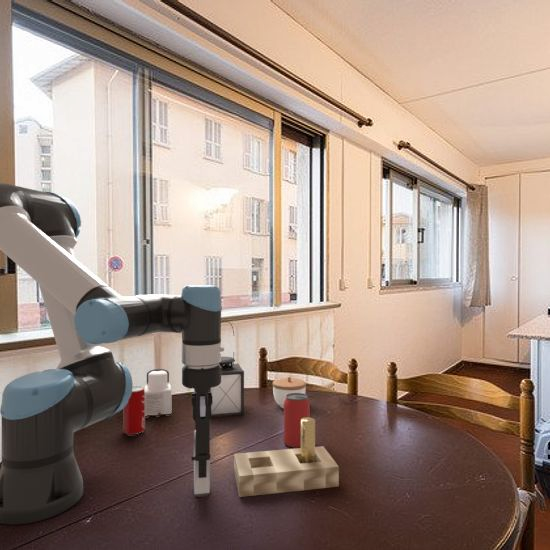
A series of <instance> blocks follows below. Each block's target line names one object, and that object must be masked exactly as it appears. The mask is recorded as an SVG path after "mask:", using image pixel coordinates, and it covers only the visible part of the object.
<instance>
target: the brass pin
mask: <svg viewBox="0 0 550 550" xmlns="http://www.w3.org/2000/svg"><path fill="white" fill-rule="evenodd" d="M315 447H316V419H315V418H313V417H310V418H309V417H305V418H302V419H301V464H302V463H312V462H315Z"/></svg>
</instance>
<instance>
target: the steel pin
mask: <svg viewBox="0 0 550 550" xmlns="http://www.w3.org/2000/svg"><path fill="white" fill-rule="evenodd" d="M194 430H195V429H194ZM195 455H196V430H195V431H193V457H194V456H195ZM209 494H210V493H202V494H195V460H193V495H194V496H195V497H197V498H198V497H199V498H204V497H207V496H208V495H209Z"/></svg>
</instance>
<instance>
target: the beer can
mask: <svg viewBox="0 0 550 550" xmlns="http://www.w3.org/2000/svg"><path fill="white" fill-rule="evenodd" d="M310 405H311V404H310V400H309V396H308V395H307V394H306V393H305V394H302V393H290V394H287V395H286V399H285V401H284V409H283V443H284V444H285V446H287V447H288V448H291V449H296V448H301V419H302V418H305V417H309V418H311V406H310Z"/></svg>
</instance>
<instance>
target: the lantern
mask: <svg viewBox="0 0 550 550" xmlns="http://www.w3.org/2000/svg"><path fill="white" fill-rule="evenodd" d="M223 322H224V323H226V322H227V323H229V324H230V326H231V328H232V333H233V335H235V330H234V328H233V327H234V326H233V325H232V323H231V322H230V321H228V320H223V321H222V320H221V323H223ZM235 361H236V359H235V353H233V357H232V356H221V362H220V363H218V364H219V365H220V366H221V383H220V384H219V385H218V386H216V387H211V388H209V389H208V392H212V405H211V418H219V417H218V416H222V417H230V416H231V417H232V415H234V416H244V415H245V370H243V368H242V367H241V366H240V363H235Z"/></svg>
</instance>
